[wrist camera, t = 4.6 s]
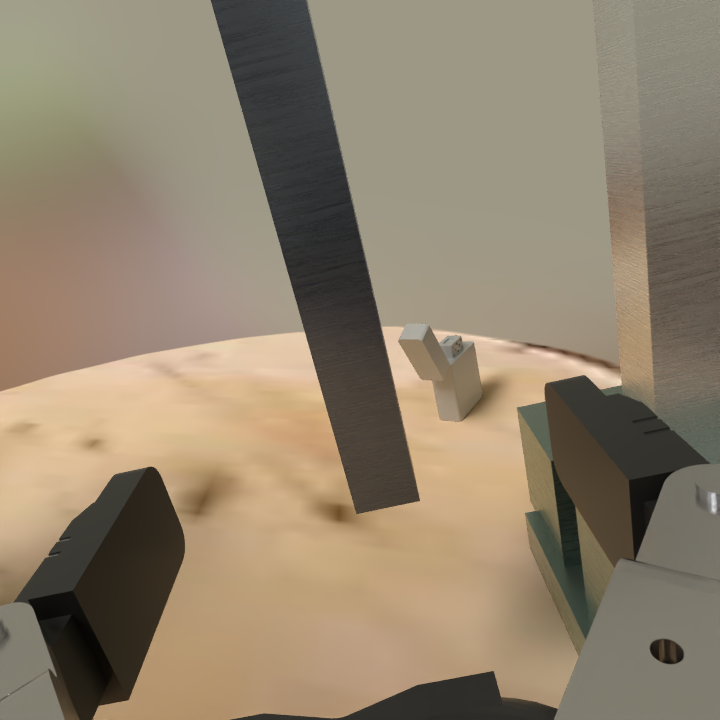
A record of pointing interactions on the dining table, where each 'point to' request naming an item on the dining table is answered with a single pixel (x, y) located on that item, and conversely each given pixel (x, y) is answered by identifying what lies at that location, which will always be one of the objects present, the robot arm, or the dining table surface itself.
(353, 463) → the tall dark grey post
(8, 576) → the dining table surface
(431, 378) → the lighter
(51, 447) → the dining table surface
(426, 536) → the dining table surface
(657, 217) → the grey tall bent post
